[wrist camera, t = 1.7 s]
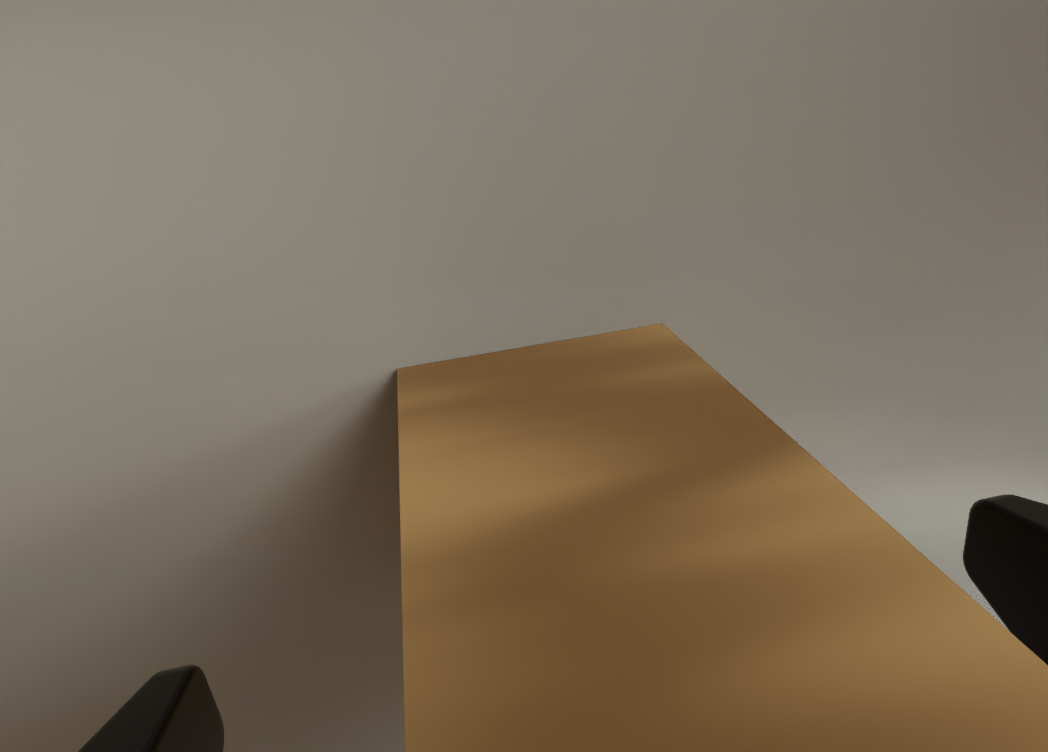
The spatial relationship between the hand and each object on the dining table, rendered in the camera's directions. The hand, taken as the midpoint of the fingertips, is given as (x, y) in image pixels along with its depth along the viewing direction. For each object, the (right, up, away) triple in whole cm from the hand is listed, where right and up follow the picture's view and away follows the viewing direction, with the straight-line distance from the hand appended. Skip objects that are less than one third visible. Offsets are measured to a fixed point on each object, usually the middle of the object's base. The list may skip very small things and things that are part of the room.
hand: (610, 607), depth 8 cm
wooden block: (-1, +1, +3) cm, 4 cm away
